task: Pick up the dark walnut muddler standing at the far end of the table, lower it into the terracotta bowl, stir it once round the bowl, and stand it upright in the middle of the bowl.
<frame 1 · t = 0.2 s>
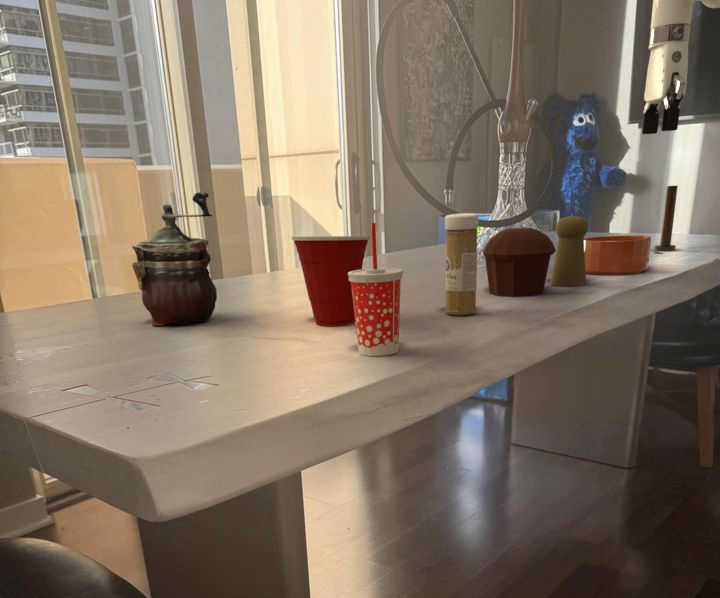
hand: (658, 132, 148), 25 cm above the table, tool pointing down, fingers open, 9 cm apart
plastic cup: (336, 323, 99), on the table
coffee grinder: (192, 323, 105), on the table
muffin: (517, 293, 115), on the table
sprinkles bottle: (461, 314, 100), on the table
beverage cup: (378, 353, 80), on the table
muddler: (664, 252, 157), on the table
bowl: (613, 271, 133), on the table
cork: (567, 284, 121), on the table
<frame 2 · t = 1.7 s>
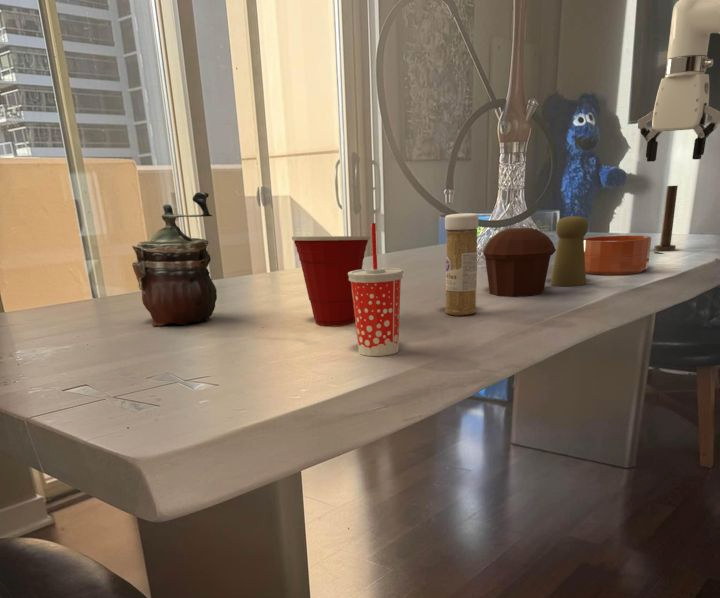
hand: (673, 160, 149), 19 cm above the table, tool pointing down, fingers open, 9 cm apart
nothing on the table moved.
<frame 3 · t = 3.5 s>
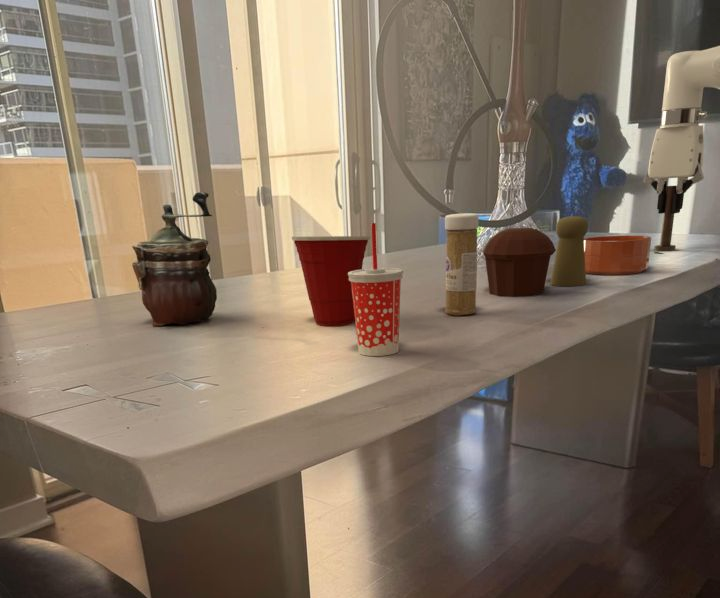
hand: (669, 212, 153), 9 cm above the table, tool pointing down, fingers closed on muddler, 2 cm apart
muddler: (664, 252, 157), on the table, touching gripper
everything else where it was.
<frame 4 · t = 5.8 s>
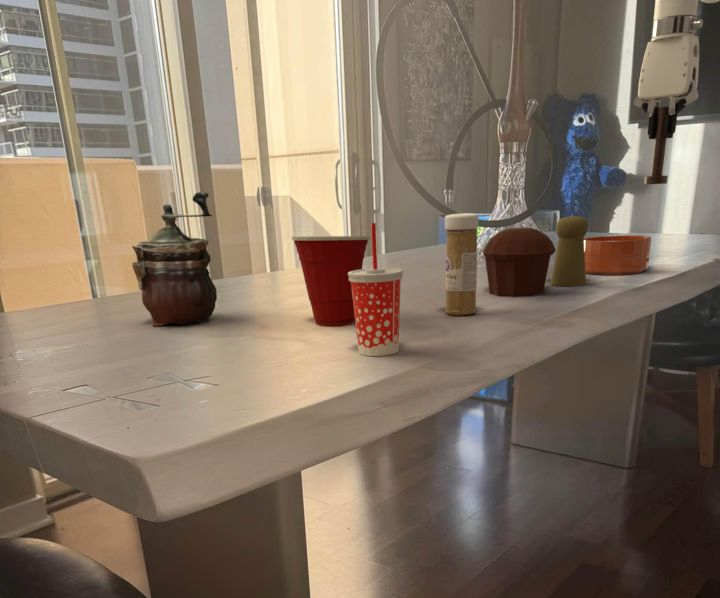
hand: (660, 137, 139), 23 cm above the table, tool pointing down, fingers closed on muddler
muddler: (655, 183, 143), point 15 cm above the table, touching gripper
everything else where it was.
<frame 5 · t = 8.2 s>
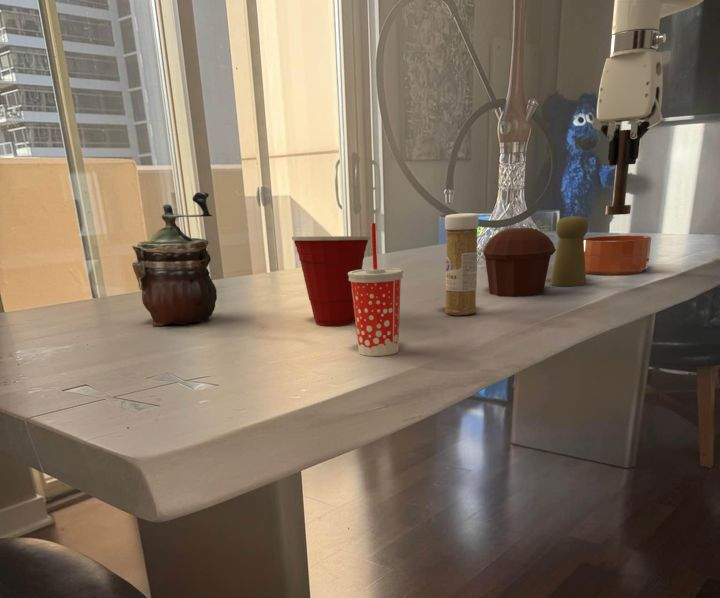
hand: (622, 163, 125), 19 cm above the table, tool pointing down, fingers closed on muddler
muddler: (617, 214, 129), point 10 cm above the table, touching gripper
everything else where it was.
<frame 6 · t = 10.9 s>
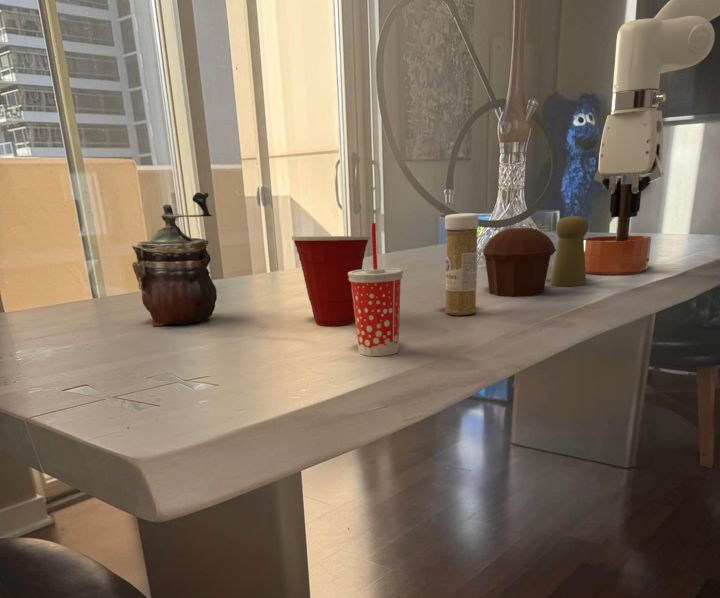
hand: (624, 215, 128), 10 cm above the table, tool pointing down, fingers closed on muddler, 2 cm apart
muddler: (619, 264, 131), point 1 cm above the table, touching gripper
everything else where it was.
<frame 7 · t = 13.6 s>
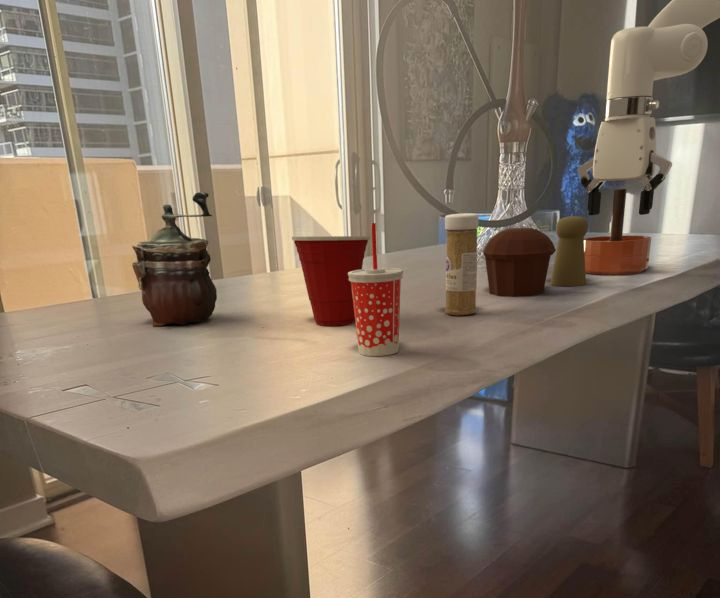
hand: (618, 214, 129), 10 cm above the table, tool pointing down, fingers open, 9 cm apart
muddler: (613, 268, 132), point 1 cm above the table, touching bowl
everything else where it was.
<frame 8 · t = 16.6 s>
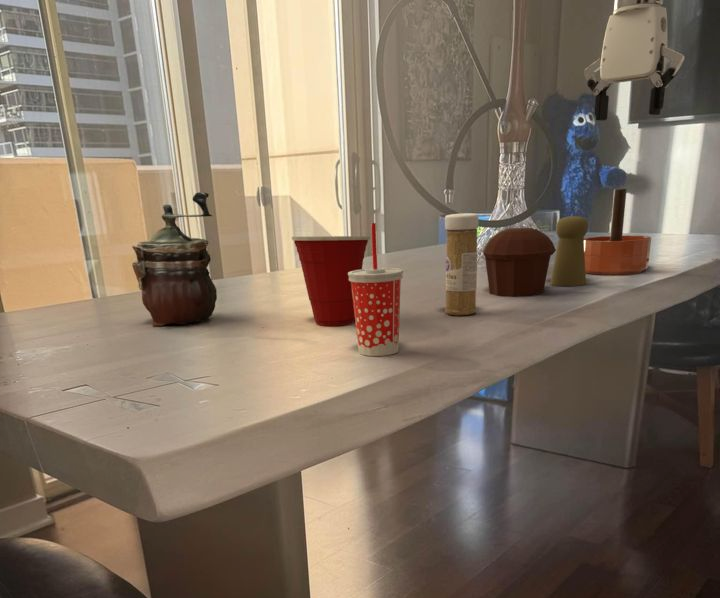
hand: (627, 117, 122), 26 cm above the table, tool pointing down, fingers open, 9 cm apart
nothing on the table moved.
at the end: muddler 0.1 cm off-centre in the bowl, point 0.6 cm above the bowl's base; muddler tilted 0°; the gripper is holding nothing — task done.
